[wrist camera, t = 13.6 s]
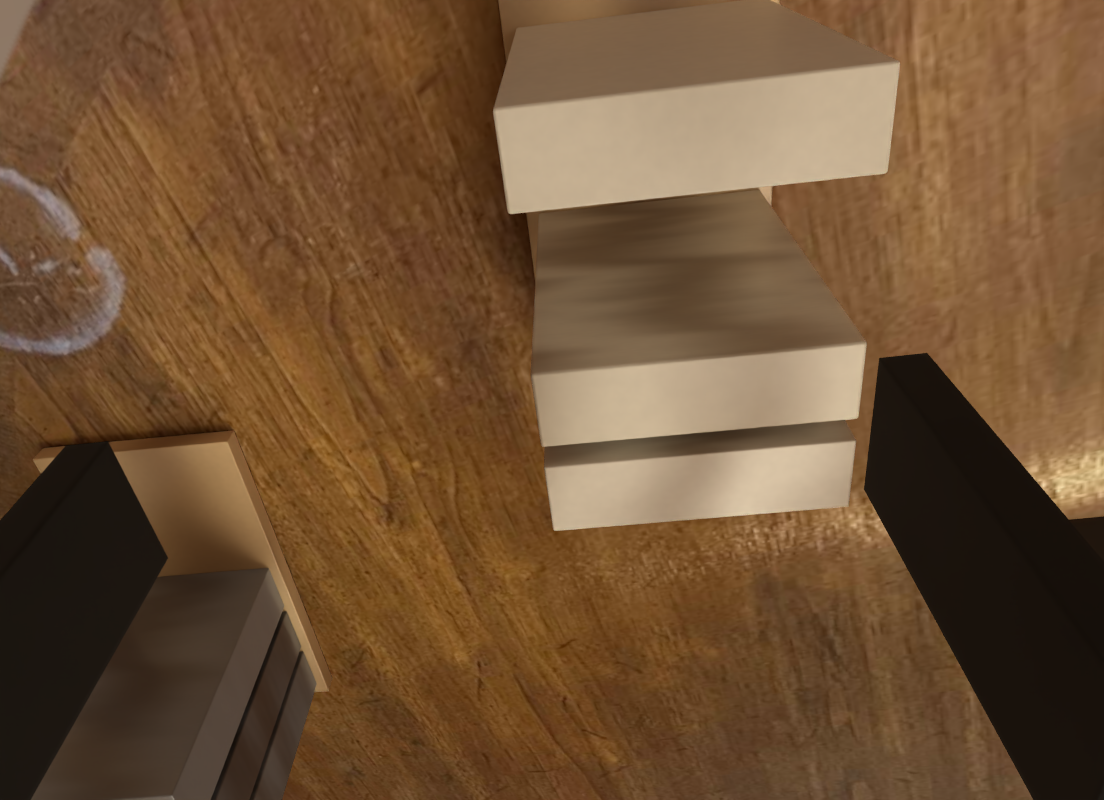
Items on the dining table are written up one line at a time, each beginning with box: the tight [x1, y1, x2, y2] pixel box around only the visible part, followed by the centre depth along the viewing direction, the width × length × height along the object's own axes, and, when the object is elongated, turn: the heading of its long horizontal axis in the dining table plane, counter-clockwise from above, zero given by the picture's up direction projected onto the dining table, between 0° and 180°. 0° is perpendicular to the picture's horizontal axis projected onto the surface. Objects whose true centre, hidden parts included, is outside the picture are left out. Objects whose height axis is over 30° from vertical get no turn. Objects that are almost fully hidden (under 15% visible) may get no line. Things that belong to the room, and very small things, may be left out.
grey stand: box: [31, 430, 332, 800], centre depth 39 cm, size 10×19×14 cm, turn 6°
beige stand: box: [498, 0, 867, 531], centre depth 26 cm, size 10×19×14 cm, turn 6°
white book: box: [493, 0, 900, 214], centre depth 24 cm, size 9×2×13 cm, turn 96°
